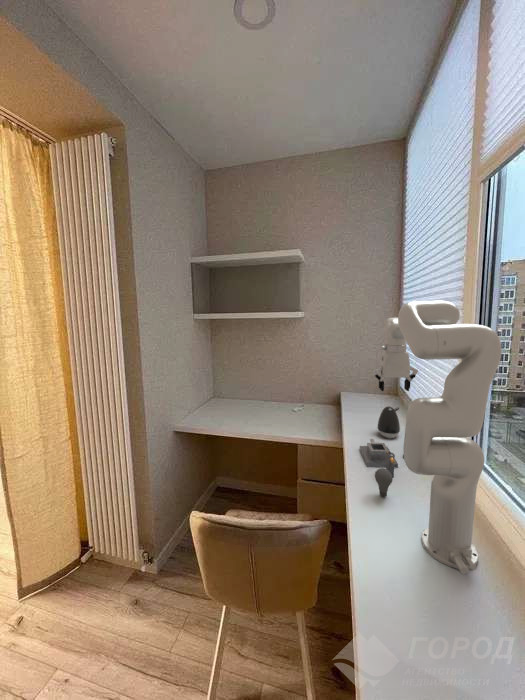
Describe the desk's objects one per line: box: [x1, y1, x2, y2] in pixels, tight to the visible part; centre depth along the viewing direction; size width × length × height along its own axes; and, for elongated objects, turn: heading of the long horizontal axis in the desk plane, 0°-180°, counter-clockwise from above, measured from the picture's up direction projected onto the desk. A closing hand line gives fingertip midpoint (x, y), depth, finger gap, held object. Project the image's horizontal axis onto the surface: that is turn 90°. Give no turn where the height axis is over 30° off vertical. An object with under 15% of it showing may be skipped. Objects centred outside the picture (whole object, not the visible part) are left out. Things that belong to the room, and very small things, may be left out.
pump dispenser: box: [377, 406, 401, 439], centre depth 138 cm, size 10×10×15 cm
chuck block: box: [359, 438, 399, 468], centre depth 120 cm, size 16×12×5 cm
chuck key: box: [385, 451, 396, 479], centre depth 106 cm, size 7×3×9 cm, turn 173°
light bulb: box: [374, 467, 394, 498], centre depth 95 cm, size 6×6×10 cm
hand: (394, 390), depth 114 cm, fingers open, 9 cm apart
